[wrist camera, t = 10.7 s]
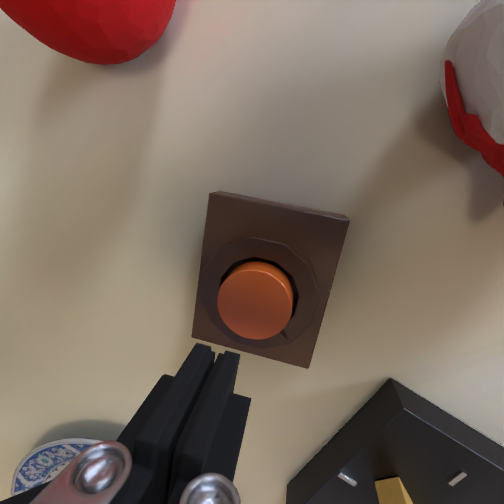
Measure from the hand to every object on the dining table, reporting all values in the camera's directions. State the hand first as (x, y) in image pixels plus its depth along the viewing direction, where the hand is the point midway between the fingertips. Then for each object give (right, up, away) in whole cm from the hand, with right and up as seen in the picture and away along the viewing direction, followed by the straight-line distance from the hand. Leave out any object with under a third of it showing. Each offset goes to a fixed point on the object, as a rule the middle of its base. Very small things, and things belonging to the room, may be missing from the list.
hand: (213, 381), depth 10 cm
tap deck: (+14, -14, +13) cm, 24 cm away
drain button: (+2, +2, +7) cm, 8 cm away
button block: (+3, +3, +11) cm, 12 cm away
